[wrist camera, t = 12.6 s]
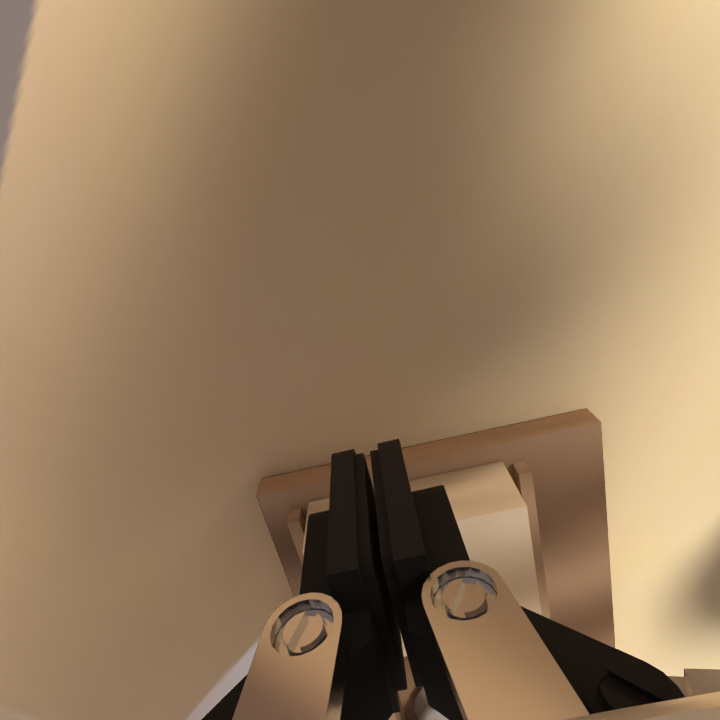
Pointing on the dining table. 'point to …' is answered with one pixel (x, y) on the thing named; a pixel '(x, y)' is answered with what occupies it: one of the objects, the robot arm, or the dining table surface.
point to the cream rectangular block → (486, 525)
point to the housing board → (540, 493)
